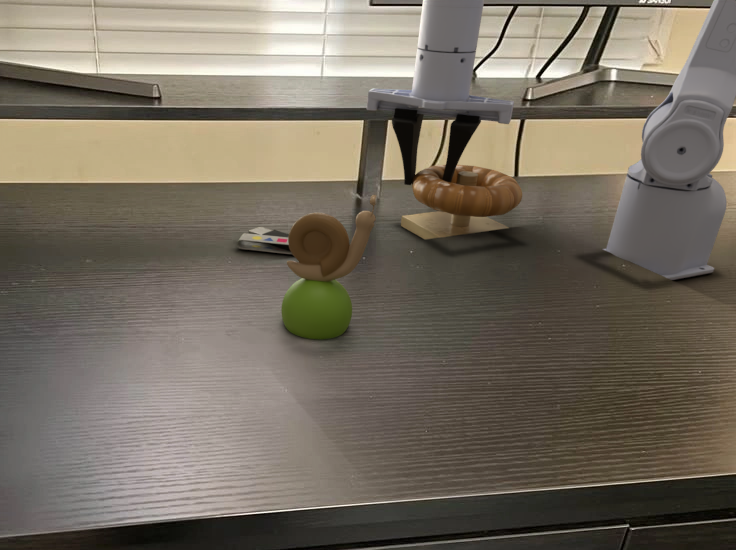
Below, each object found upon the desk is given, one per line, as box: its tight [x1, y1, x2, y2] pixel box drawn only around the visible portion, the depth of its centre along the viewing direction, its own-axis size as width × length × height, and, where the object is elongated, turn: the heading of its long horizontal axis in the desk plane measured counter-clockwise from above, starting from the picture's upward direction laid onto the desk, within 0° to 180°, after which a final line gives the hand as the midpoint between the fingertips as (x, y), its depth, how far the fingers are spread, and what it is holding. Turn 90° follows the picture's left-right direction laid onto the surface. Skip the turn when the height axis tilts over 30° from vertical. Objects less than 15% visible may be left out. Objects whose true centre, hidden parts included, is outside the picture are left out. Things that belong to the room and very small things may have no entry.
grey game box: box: [236, 226, 293, 255], centre depth 75 cm, size 9×5×1 cm, turn 49°
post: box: [400, 171, 510, 240], centre depth 80 cm, size 9×9×7 cm
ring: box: [411, 164, 523, 218], centre depth 79 cm, size 11×11×3 cm
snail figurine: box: [280, 194, 378, 340], centre depth 55 cm, size 5×6×12 cm
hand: (427, 185), depth 80 cm, fingers closed on ring, 3 cm apart
